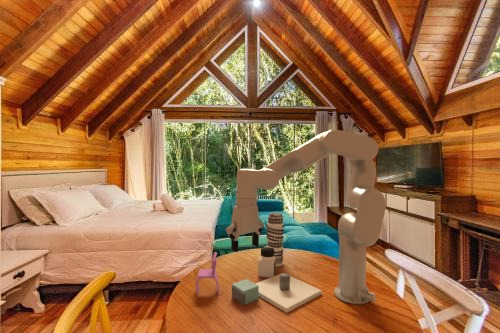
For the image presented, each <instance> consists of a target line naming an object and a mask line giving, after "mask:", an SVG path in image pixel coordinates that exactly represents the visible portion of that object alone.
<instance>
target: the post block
mask: <svg viewBox="0 0 500 333" xmlns="http://www.w3.org/2000/svg"><path fill="white" fill-rule="evenodd" d="M254 283H255V282H254ZM255 284H257V285H258V286H259V291H258V298H260V299H263V300H265V301H266V302H268V303H269V304H271V305H273V306H275V307H276V308H278V309H280V310H281V311H283V312H284V313H286V314H288V313H289V312H291V311H293V310H295V309H296V308H298V307H301V306H302V305H304V304H306V303H308V302H310V301H312V300H313V299H315V298H317V297H319V296H321V295H322V290H321V289H319V288H317V287H315V286H314V285H313V286H312V285H311V284H308V283H306V282H303V281H302V280H299V279H297V278H296V277H293V276H291V274H288V273H285V272H281V273H280V274H275V276H274V277H271V278H268V277H267V278H266V279H263V280H261V281H258V282H256V283H255Z"/></svg>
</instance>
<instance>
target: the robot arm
mask: <svg viewBox="0 0 500 333" xmlns="http://www.w3.org/2000/svg"><path fill="white" fill-rule="evenodd" d="M378 153H379V144H378V143H377V141H376V139H374V138H372V137H371V136H367V135H364V134H360V133H359V134H358V133H354V132H349V131H344V130H339V129H330V130H327V131H323V132H321V133H319V134H317V135H316V136H315V137H312V138H311V139H309V140H308V141H306V142H304V143H302V144H301V145H299V146H298V147H296V148H294V149H293V150H291V151H289V152H287V153H286V154H285V155H283V156H281V157H280V158H278V159H276V160H274V161H272V162H271V163H269V164H268V165H265V166H264V167H263V168H261V169H255V168H254V169H253V168H240V169H237V171H236V198H235V199H236V202H235V205H234V207H233V211H232V215H231V224H230V225H228V226H227V228H225V232H226V235H227V237H228V238H229V239H230V240H231V244H230V245H231V251H233V252H235V253H238V252H239V240H238V239H239V237H240V236H241V235H247V234H251V233H252V234H251V245H252V246H254V247H256V248H257V247H259V245H260V244H259V242H260V238H259V237H260V236H261V233H262V232H263V228H264V225H265V223H264V222H263V221H261V220H260V215H259V206H258V204H257V203H258V202H259V199H258V198H257V197H258V196H257V195H258V189H259V190H260V189H261V190H267V191H270V190H273V189H275V188H276V187H277V186H278V185H279V183H280V180H282V179H283V178H285V177H287V176H289V175H291V174H294V173H297V172H301V171H304V170H307V169H308V168H310V167H311V166H313V165H315V164H316V163H318V162H320V161H321V160H324V159H325V158H327V157H328V156H330V155H339V156H342V157H344V158H345V160H347V161H348V163H349V165H350V167H351V176H350V181H349V186H348V191H347V195H346V202H347V205H348V206H349V207H350V208H351V209H353V210H355V211H356V213H355V212H347V213H344V214H343V215H341V216H340V218H339V220H338V223H337V230H338V240H339V253H338V255H339V256H338V260H339V261H338V286H336V287H335V288H334V292H333V294H334V295H335V297H336V298H337V299H339V300H341V301H342V302H345V303H348V304H351V305H352V304H353V305H364V304H367V303H369V302H372V303H376V300H377V298H376V293H374V292H370V291H369V286H367V285H366V284H367V283H366V282H367V281H366V279H367V278H366V277H367V276H366V275H367V247H372V246H373V245H374V244H376V242H377V241H378V240H379V237H380V235H381V232H382V228H383V223H384V218H385V212H386V208H387V204H386V198H385V195H384V194H383V193H382V192H381V191H380V190H379V189H377V188H375V183H376V176H377V167H376V165H375V162H374V160H373V159H374V158H375V157H376V156H377V155H378Z"/></svg>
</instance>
